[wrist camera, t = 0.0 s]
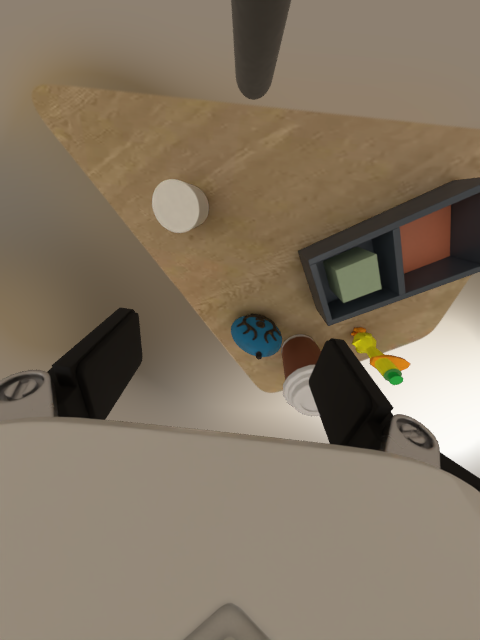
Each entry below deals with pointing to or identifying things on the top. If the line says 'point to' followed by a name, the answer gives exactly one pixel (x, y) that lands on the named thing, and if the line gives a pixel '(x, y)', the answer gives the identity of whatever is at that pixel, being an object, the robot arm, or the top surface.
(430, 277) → the dark grey divided tray
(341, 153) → the top surface
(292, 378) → the coffee cup
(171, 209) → the white cylinder
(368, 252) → the sage block
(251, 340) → the ornament
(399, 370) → the toy figure
